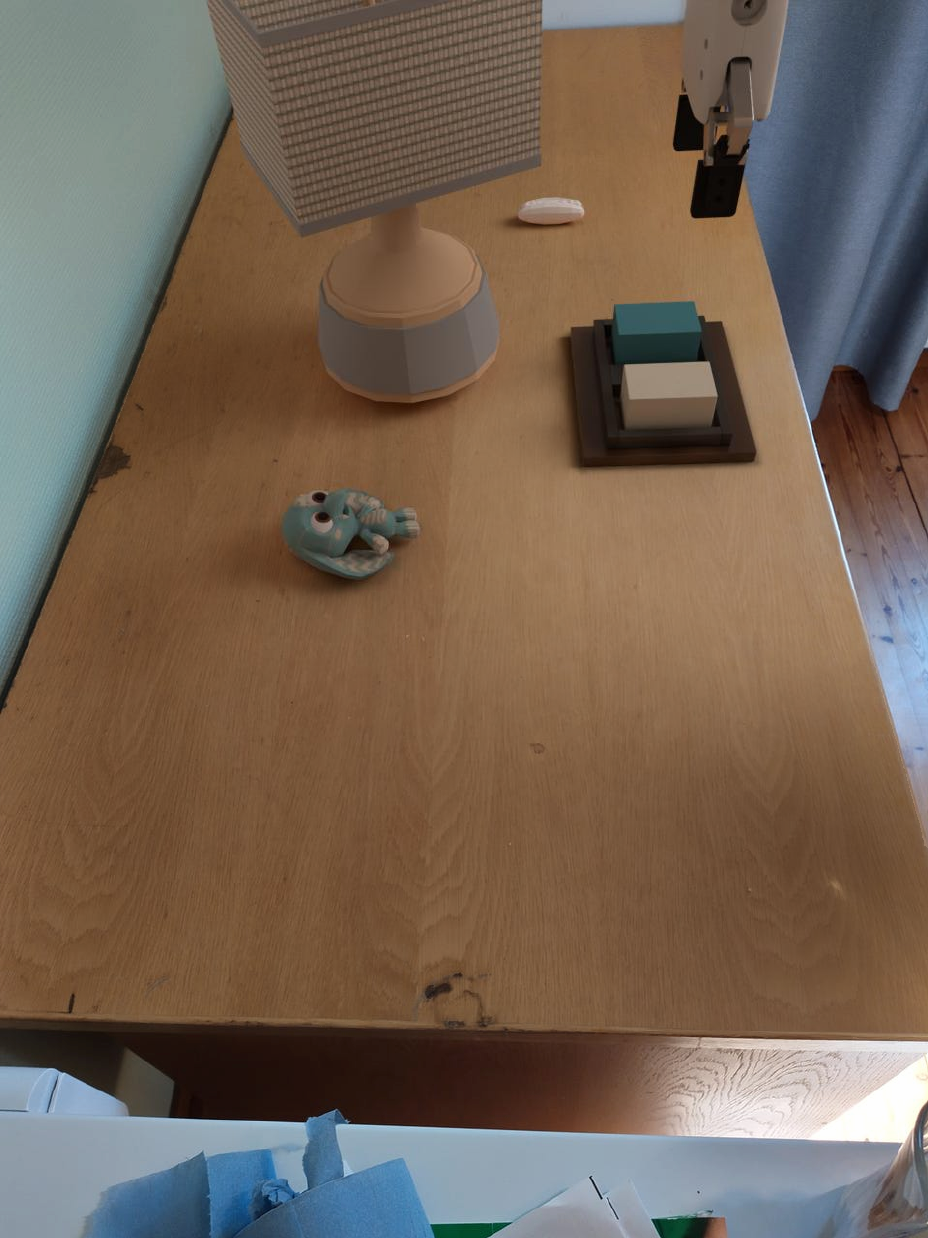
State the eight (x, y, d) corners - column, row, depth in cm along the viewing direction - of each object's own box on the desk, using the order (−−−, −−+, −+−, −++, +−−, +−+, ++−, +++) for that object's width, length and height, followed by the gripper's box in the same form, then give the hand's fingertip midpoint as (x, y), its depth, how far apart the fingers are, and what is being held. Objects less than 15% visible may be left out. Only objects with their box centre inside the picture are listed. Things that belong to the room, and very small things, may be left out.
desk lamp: (465, 284, 103) (442, -115, 73) (544, 377, 92) (555, -45, 63) (287, 342, 98) (186, -60, 68) (349, 447, 87) (261, 26, 58)
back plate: (720, 330, 95) (724, 308, 93) (754, 461, 83) (760, 439, 81) (570, 336, 96) (571, 314, 94) (582, 466, 84) (584, 445, 82)
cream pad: (701, 398, 87) (709, 360, 83) (709, 433, 84) (717, 396, 81) (619, 401, 87) (623, 364, 84) (624, 436, 85) (629, 399, 81)
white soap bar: (583, 226, 108) (585, 204, 106) (518, 228, 109) (518, 206, 107) (582, 213, 110) (584, 190, 108) (518, 215, 111) (518, 192, 108)
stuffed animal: (434, 533, 73) (285, 542, 70) (425, 589, 78) (287, 600, 76) (412, 445, 79) (274, 450, 76) (405, 503, 85) (277, 510, 82)
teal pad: (687, 338, 93) (694, 300, 89) (694, 369, 90) (701, 331, 86) (610, 341, 93) (614, 303, 89) (614, 372, 90) (618, 334, 87)
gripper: (847, -52, 48) (774, 242, 62) (782, -147, 58) (732, 123, 72) (707, -44, 49) (666, 247, 62) (667, -140, 59) (639, 128, 73)
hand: (702, 180), depth 67 cm, fingers open, 9 cm apart
